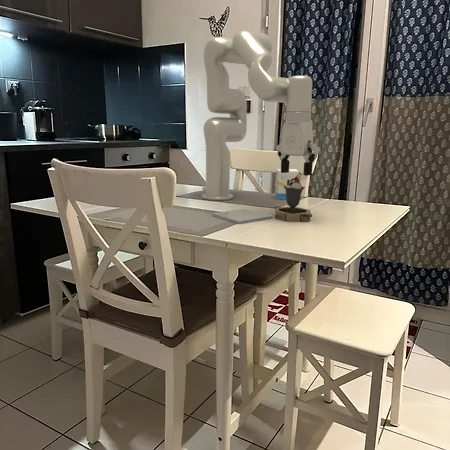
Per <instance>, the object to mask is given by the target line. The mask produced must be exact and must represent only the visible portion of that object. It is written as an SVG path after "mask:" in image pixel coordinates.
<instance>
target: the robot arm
mask: <svg viewBox="0 0 450 450" xmlns="http://www.w3.org/2000/svg"><path fill="white" fill-rule="evenodd" d="M272 49H273V43H272V40H271V38H270V36H269V35H267V34H266V33H263V32H259V31H253V30H249V29H248V30H247V29H244V30H240V31H237V32H236V33H235V34H234V35H233V37H227V36H214V37H211V38H209V40H207V41H206V44H205V45H204V49H203V62H204V68H205V72H206V73H205V74H206V102H207V103H206V104H207V108H208V110H209V111H210V112H211V113H214V114H221V115H222V114H224V115H226V114H227V115H228V114H229V117H226V116H223V117H222V116H213V117H210V118H208V119H207V120H206V121H205V122H204V125H203V135H204V141H205V185H204V186H203V187H202V188H201V189H202V190H203V191H204V193H202V194H201V198H202V199H205V200H208V201H209V200H210V201H228V200H233V198H234V195H233V194H232V193H230V184H231V183H230V181H231V180H230V179H231V177H230V175H231V153H230V150H229V147H228V145H227V143H238V142H241V141H243V140H244V139H245V137H246V135H247V128H248V127H247V126H248V125H247V124H248V119H247V117H248V115H247V113H248V111H247V110H248V109H247V108H248V104H247V103H248V101H247V98H246V95H245V94H244V92H243V91H242V90H240V89H238V88H237V89H236V88H230V76H229V72H228V71H227V70H228V69H227V68H226V66H225V65H224V63H230V64H237V65H245V66H246V67H247V69H248V73H247V79H248V84H249V86H250V88H251V90H252V91H253V92H254V94H255V95H256V96H257V97H258V98H259V99H260V100H262V101H264V102H269V103H284V104H286V108H285V109H286V110H285V115H284V119H285V122H284V123H283V125H282V131H281V137H280V143H279V144H278V145H276V146H275V148H276V152H277V156H278V158H279V161H280V169H281V173H288V172H289V169H290V160H289V159H290V157H291V156H296V157H297V156H298V157H301V156H302V157H303V159H304V162H303V176H305V177H306V176H312V174H313V164H314V162H315V160H316V158H317V157H318V155H319V152H320V151H321V147H320V146H318V145H317V144H315V143H314V132H313V124H312V122H311V121H312V120H311V118H312V117H311V116H312V111H311V110H312V97H313V96H312V95H313V94H312V93H313V78H311V76H308V75H293V76H289V77H283V76H282V77H280V76H270V75H269V74H268V73H267V71H268V70H269V69H270V67H271V66H272V62H273V56H272V55H271V53H272Z"/></svg>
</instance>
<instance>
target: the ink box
mask: <svg viewBox="0 0 450 450" xmlns="http://www.w3.org/2000/svg"><path fill="white" fill-rule="evenodd" d="M299 172H300V171H299V170H298V169H297V168H289V172H288V173H281V168H276V169H275V174H276V175H275V188H274V196H276V197H275V199H276V200H278V199H279V200H280V199H282V200H285V201H287V200H286V190H285V188H284V186H287V180H291V179H293V178H295V177H296V176H298V179H299V178H300V173H299ZM299 180H300V179H299Z"/></svg>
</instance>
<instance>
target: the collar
mask: <svg viewBox="0 0 450 450" xmlns="http://www.w3.org/2000/svg"><path fill="white" fill-rule="evenodd" d="M274 211H275V212H274V219H275V220H279V221H282V222H290V223H291V222H293V223H301V222H302V223H304V222H308V221H309V222H310V221H311V218H312V217H313V214H312V212H311V209H308V208H304V207H299V206H298V207H297V206H296V207H295V208H294V213H291V207H290V206H283V207H282V206H274Z"/></svg>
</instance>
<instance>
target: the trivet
mask: <svg viewBox="0 0 450 450" xmlns="http://www.w3.org/2000/svg"><path fill="white" fill-rule="evenodd" d="M211 217H214V218H218V219H222V220H225V221H228V222H230V223H231V222H232V223H234V224H237V225H242V224H247V223H248V224H249V223H254V222H261V221H265V220H270V219H273V217H274V216H273V215H271V214H266V213H262V212H258V211H255V210H250V209H246V208H241V209H233V210H227V211H220V212H219V211H218V212H212V213H211Z"/></svg>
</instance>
